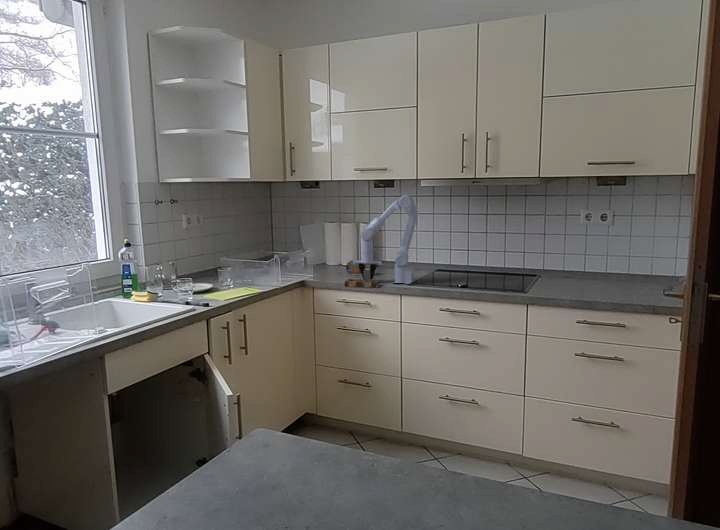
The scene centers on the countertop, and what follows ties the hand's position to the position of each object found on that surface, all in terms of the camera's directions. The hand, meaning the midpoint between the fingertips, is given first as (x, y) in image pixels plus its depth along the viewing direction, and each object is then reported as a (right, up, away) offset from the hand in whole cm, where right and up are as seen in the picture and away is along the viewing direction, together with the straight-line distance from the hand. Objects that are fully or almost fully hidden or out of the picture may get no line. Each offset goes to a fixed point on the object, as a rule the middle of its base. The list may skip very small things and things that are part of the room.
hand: (367, 278), depth 263 cm
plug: (0, -2, 0) cm, 2 cm away
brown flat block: (-3, -3, -6) cm, 7 cm away
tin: (-4, +1, +21) cm, 22 cm away
